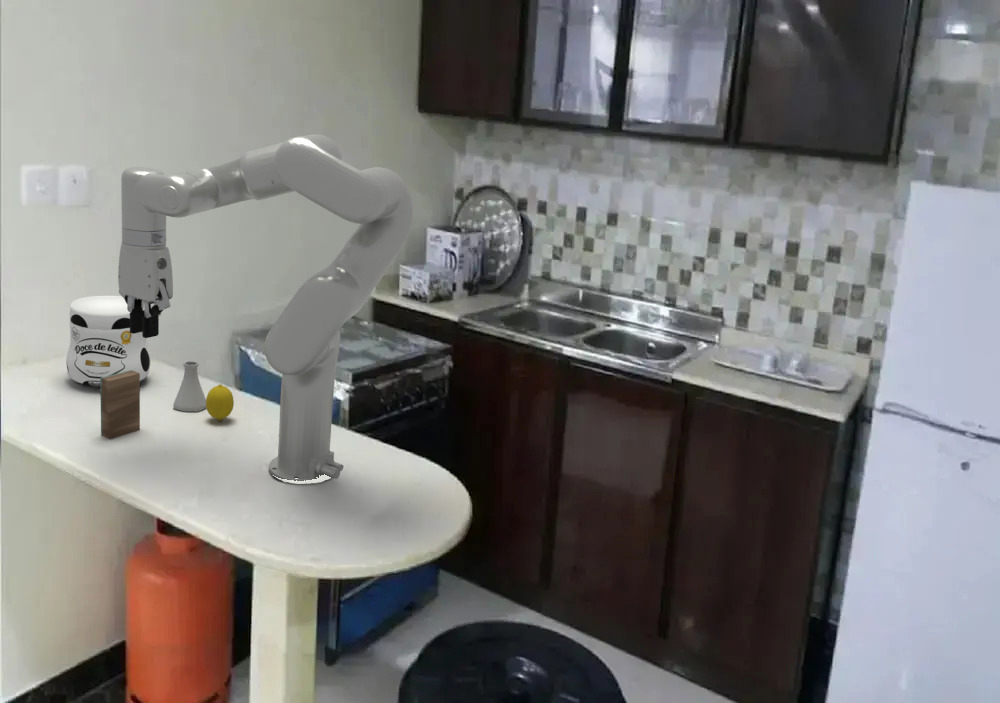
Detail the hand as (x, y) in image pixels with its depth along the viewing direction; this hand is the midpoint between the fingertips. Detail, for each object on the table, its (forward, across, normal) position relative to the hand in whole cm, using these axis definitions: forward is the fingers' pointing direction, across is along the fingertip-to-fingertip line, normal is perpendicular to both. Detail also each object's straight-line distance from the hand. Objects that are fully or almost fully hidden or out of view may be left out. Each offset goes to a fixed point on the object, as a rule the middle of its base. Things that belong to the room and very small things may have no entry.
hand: (144, 333), depth 174 cm
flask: (+22, +9, -19) cm, 31 cm away
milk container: (+22, +32, -16) cm, 43 cm away
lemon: (+22, -1, -18) cm, 29 cm away
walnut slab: (+22, +7, 0) cm, 23 cm away
